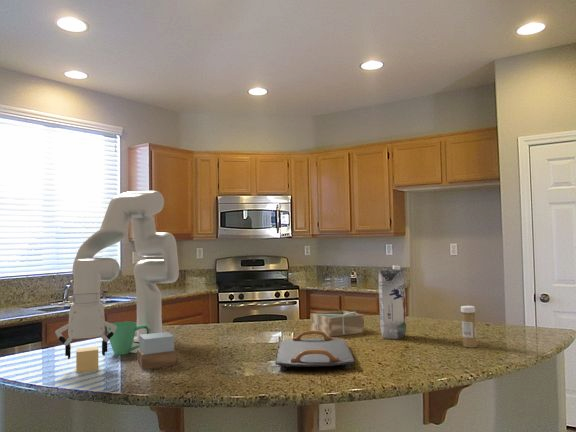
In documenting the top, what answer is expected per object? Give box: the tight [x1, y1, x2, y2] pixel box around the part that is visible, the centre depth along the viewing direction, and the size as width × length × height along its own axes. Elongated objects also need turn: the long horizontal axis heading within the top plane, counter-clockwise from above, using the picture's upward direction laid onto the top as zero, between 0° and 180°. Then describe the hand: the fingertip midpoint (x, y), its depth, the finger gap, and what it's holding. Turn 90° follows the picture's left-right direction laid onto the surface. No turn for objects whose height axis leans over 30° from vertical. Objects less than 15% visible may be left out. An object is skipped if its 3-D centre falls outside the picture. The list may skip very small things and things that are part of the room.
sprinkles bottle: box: [460, 305, 478, 348], centre depth 163 cm, size 5×5×14 cm
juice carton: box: [378, 265, 407, 340], centre depth 183 cm, size 9×10×27 cm
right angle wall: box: [316, 311, 357, 334], centre depth 197 cm, size 12×12×8 cm
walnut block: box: [137, 348, 177, 370], centre depth 150 cm, size 10×10×4 cm
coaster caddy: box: [309, 310, 365, 337], centre depth 197 cm, size 16×16×7 cm
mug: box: [106, 321, 150, 356], centre depth 167 cm, size 15×10×10 cm
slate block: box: [138, 331, 175, 354], centre depth 151 cm, size 9×9×4 cm
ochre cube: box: [75, 346, 99, 373], centre depth 146 cm, size 6×6×6 cm
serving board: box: [274, 330, 355, 372], centre depth 153 cm, size 39×23×6 cm, turn 178°
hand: (86, 356), depth 146 cm, fingers open, 9 cm apart
